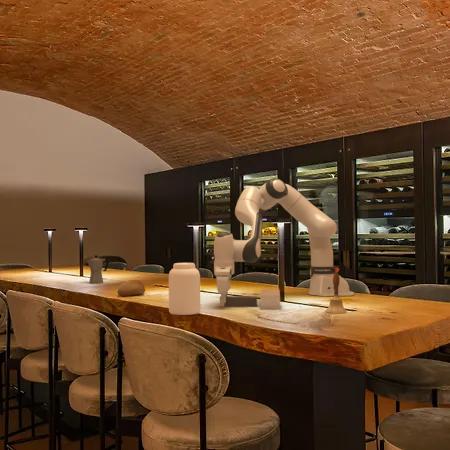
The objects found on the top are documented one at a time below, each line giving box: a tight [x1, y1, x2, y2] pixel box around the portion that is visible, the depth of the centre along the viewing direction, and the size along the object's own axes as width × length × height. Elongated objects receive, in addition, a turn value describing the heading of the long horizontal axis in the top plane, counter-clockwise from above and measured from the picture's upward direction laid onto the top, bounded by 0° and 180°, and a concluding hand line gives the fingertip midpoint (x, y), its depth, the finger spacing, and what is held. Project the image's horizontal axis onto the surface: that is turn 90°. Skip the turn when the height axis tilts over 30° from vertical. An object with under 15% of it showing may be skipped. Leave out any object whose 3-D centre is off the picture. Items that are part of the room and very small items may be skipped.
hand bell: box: [325, 271, 348, 315], centre depth 205 cm, size 8×8×16 cm
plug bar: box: [219, 295, 258, 308], centre depth 225 cm, size 16×4×4 cm, turn 85°
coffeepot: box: [85, 255, 110, 285], centre depth 336 cm, size 15×9×18 cm, turn 125°
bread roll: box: [117, 279, 146, 298], centre depth 266 cm, size 10×15×8 cm, turn 127°
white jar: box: [168, 262, 201, 316], centre depth 207 cm, size 12×12×20 cm
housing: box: [260, 289, 281, 311], centre depth 224 cm, size 8×20×6 cm, turn 175°
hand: (224, 301), depth 225 cm, fingers closed on plug bar, 4 cm apart
